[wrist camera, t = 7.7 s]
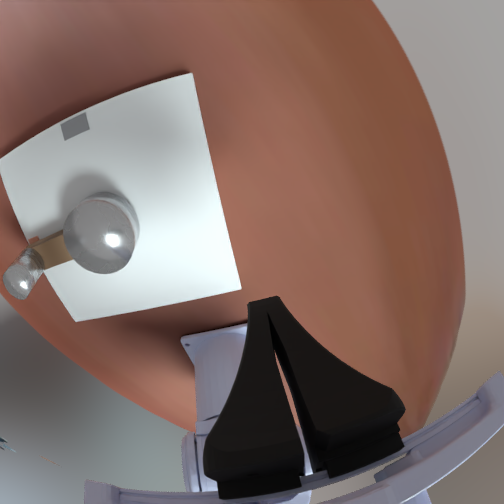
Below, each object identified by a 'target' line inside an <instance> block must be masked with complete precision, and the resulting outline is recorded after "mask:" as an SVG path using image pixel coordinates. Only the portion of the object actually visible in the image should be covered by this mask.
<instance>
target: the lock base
mask: <svg viewBox="0 0 504 504" xmlns="http://www.w3.org/2000/svg"><path fill="white" fill-rule="evenodd" d="M0 174H1V177H2V180H3V183H4V186H5V189H6V192H7V194H8V197H9V200H10V202H11V205H12V207H13V210H14V212H15V215H16V217H17V219H18V222H19V224H20V226H21V228H22V231H23V233H24V235H25V237H26V239H27V241H28V243H29V245H30V244H32V243H34V242H36V241H38V240H41V239H43V238H45V237H47V236H49V235H51V234H54V233H56V232H58V231H60V230H63V228H64V224H65V221H66V219H67V217H68V215H69V214H70V213H71V212H72V210H73V209H74V208H75V207H76V206H77V205H78V204H79V203H80V202H81V201H82V200H84V199H85V198H86V197H87V196H89V195H91V194H93V193H97V192H110V193H114V194H116V195H118V196H120V197H122V198H123V199H125V200H126V201H127V202H128V203H129V204H130V205H131V206H132V207H133V209H134V211H135V212H136V214H137V217H138V220H139V224H140V234H139V239H138V241H137V244H136V246H135V249H134V251H133V254H132V257H131V259H130V261H129V262H128V264H127V265H126V266H125V267H124V268H122V269H121V270H119V271H117V272H115V273H111V274H97V273H93V272H91V271H88V270H86V269H84V268H83V267H81V266H80V265H79V264H78V263H76V262H75V260H74V259H73V260H71V261H68V262H65V263H62V264H60V265H57V266H54V267H52V268H49V269H46V270H44V273H45V275H46V277H47V279H48V280H49V282H50V284H51V285H52V287H53V289H54V290H55V292H56V293H57V295H58V297H59V298H60V300H61V301H62V303H63V304H64V306H65V307H66V309H67V310H68V312H69V313H70V315H71V316H72V318H73V319H74V320H75V322H78V321H84V320H90V319H96V318H101V317H107V316H113V315H118V314H124V313H129V312H134V311H140V310H145V309H150V308H155V307H160V306H165V305H170V304H175V303H180V302H185V301H189V300H194V299H199V298H203V297H208V296H213V295H217V294H222V293H226V292H231V291H235V290H240V289H241V284H240V279H239V275H238V271H237V267H236V263H235V259H234V255H233V251H232V246H231V242H230V238H229V234H228V230H227V226H226V221H225V217H224V213H223V209H222V205H221V200H220V196H219V192H218V187H217V183H216V179H215V174H214V170H213V165H212V161H211V157H210V152H209V148H208V143H207V138H206V134H205V129H204V125H203V120H202V116H201V111H200V106H199V101H198V97H197V92H196V87H195V82H194V77H193V74H192V73H189V74H185V75H181V76H177V77H173V78H169V79H166V80H162V81H159V82H156V83H152V84H149V85H146V86H143V87H140V88H137V89H134V90H132V91H129V92H126V93H123V94H121V95H118V96H115V97H113V98H110V99H108V100H105V101H103V102H101V103H98V104H96V105H94V106H92V107H89V108H87V109H85V110H83V111H81V112H79V113H76V114H74V115H72V116H70V117H68V118H66V119H64V120H63V121H61V122H59V123H57V124H55V125H53V126H51V127H50V128H48V129H46V130H44V131H43V132H41V133H39V134H37V135H36V136H34V137H32V138H31V139H29V140H28V141H26V142H24V143H23V144H21V145H20V146H18V147H17V148H15V149H14V150H12V151H11V152H9V153H8V154H7V155H5V156H4V157H2V158H1V159H0Z"/></svg>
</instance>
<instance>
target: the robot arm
mask: <svg viewBox="0 0 504 504" xmlns="http://www.w3.org/2000/svg"><path fill="white" fill-rule="evenodd" d="M247 307H248V323H246V324H241V325H237V326H232V327H228V328H223V329H218V330H213V331H208V332H203V333H198V334H193V335H187V336H183V337H181V343H182V345H183V347H184V349H185V351H186V352H187V354H188V356H189V358H190V359H191V361H192V363H193V364H194V366H195V389H196V408H197V421H196V435H195V432H188V433H187V435H186V436H185V437H184V438H183V439H182V446H181V448H182V449H181V450H182V468H183V475H184V482H185V487H186V491H187V492H157V491H142V490H132V489H123V488H118V487H116V486H114V485H111V484H107V483H102V482H96V481H91V480H85V492H84V504H309V502H310V496H311V490H313V489H317V488H321V487H324V486H327V485H330V484H333V483H336V482H339V481H342V480H345V479H348V478H351V477H353V476H356V475H359V474H361V473H364V472H366V471H369V470H371V469H373V468H376V467H378V466H380V465H383V464H385V463H387V462H389V461H391V460H393V459H395V458H397V457H399V456H401V455H403V454H405V453H407V454H406V456H405V457H403V458H401V459H400V460H398V461H396V462H394V463H392V464H390V465H388V466H386V467H385V468H384V469H383V470H381V471H379V472H378V473H376V474H375V475H374V478H375V480H376V483H375V484H372V485H370V486H367V487H365V488H362V489H360V490H357V491H354V492H352V493H349V494H346V495H343V496H340V497H337V498H334V499H331V500H328V501H324V502H321V503H317V504H432V503H431V501H430V498H429V496H428V493H427V491H426V489H427V488H429V487H430V486H432V485H433V484H435V483H436V482H438V481H439V480H441V479H442V478H443V477H445V476H446V475H448V474H449V473H450V472H451V471H453V470H454V469H456V468H457V467H458V466H459V465H461V464H462V463H463V462H464V461H466V460H467V459H468V458H469V457H470V456H472V455H473V454H474V453H475V452H476V451H477V450H479V449H480V448H481V447H482V446H483V445H484V444H485V443H486V442H487V441H488V440H489V439H490V438H491V437H492V436H493V435H494V434H496V433H497V432H498V431H499V429H501V428H502V426H504V377H503V375H502V374H501V372H500V371H498V372H497V373H495V374H494V375H493V376H492V377H491V378H490V379H489V380H487V381H486V382H485V383H484V384H483V385H482V386H481V387H480V388H479V389H478V390H477V391H476V393H475V394H474V395H472V396H471V397H470V398H468V399H467V400H465V401H464V402H463V403H461V404H460V405H458V406H457V407H456V408H454V409H453V410H451V411H450V412H448V413H446V414H445V415H443V416H442V417H440V418H439V419H437V420H435V421H434V422H432V423H430V424H429V425H427V426H425V427H424V428H422V429H420V430H418V431H416V432H415V433H413V434H411V435H409V436H407V437H405V438H403V439H401V437H400V435H399V433H398V432H399V431H400V428H399V426H398V424H397V422H398V421H399V420H400V418H401V417H402V416H403V414H404V412H405V410H406V409H405V406H404V404H403V402H402V401H401V399H400V398H399V396H398V395H397V394H396V393H395V391H394V390H393V389H392V388H390V387H387V386H385V385H383V384H381V383H379V382H377V381H375V380H373V379H371V378H369V377H367V376H365V375H363V374H361V373H360V372H358V371H357V370H355V369H353V368H352V367H350V366H349V365H347V364H346V363H344V362H343V361H341V360H340V359H338V358H337V357H336V356H334V355H333V354H332V353H330V352H329V351H328V350H327V349H325V348H324V347H323V346H322V345H321V344H320V343H319V342H317V341H316V340H315V339H314V338H313V337H312V336H311V335H310V334H309V333H308V332H307V331H306V330H305V329H304V328H303V327H302V326H301V325H300V323H299V322H298V321H297V320H296V319H295V318H294V317H293V315H292V314H291V313H290V312H289V310H288V309H287V308H286V306H285V305H284V304H283V302H282V301H281V299H280V297H278V296H274V297H269V298H265V299H261V300H257V301H253V302H249V303H248V304H247ZM186 343H188V344H186ZM274 350H275V351H274ZM275 353H276V355H277V358H278V360H279V363H280V366H281V368H282V371H283V373H284V376H285V378H286V381H287V383H288V386H289V389H290V392H291V394H292V398H293V401H294V405H295V408H296V412H297V416H298V419H299V423H300V427H301V428H300V427H299V426H298V425H296V424H295V421H294V418H293V415H292V412H291V409H290V405H289V402H288V399H287V396H286V393H285V389H284V386H283V383H282V379H281V376H280V373H279V369H278V366H277V363H276V357H275Z"/></svg>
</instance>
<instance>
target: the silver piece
mask: <svg viewBox="0 0 504 504" xmlns="http://www.w3.org/2000/svg"><path fill="white" fill-rule="evenodd" d="M139 234H140V224H139V220H138V217H137V214H136V212H135V211H134V209H133V207H132V206H131V205H130V204H129V203H128V202H127V201H126V200H125V199H123V198H122V197H120V196H118V195H116V194H114V193H110V192H97V193H93V194H91V195H89V196H87V197H86V198H85V199H84V200H82V201H81V202H80V203H79V204H78V205H77V206H76V207H75V208H74V209H73V210H72V212H71V213H70V214H69V215H68V217H67V219H66V221H65V224H64V228H63V230H60V231H58V232H56V233H54V234H51V235H49V236H47V237H45V238H43V239H41V240H38V241H36V242H34V243H32V244H30V245H28V246H27V247H26V248H25V249H24V250H23V251H22V252H21V253H20V255H19V256H18V257H17V258H16V259H15V261H14V262H13V263H12V264H11V265H10V267H9V268H8V269H7V270H6V272H5V273H4V275H3V282H4V285H5V287H6V289H7V290H8V292H9V293H10V294H11V295H12V296H14V297H15V298H17V299H21V300H23V299H26V298H27V296H28V295H29V293H30V291H31V290H32V288H33V287H34V285H35V284H36V282H37V281H38V279H39V278H40V276H41V275H42V273H43V272H44V270H46V269H49V268H52V267H54V266H57V265H60V264H62V263H65V262H68V261H71V260H73V259H74V260H75V262H76V263H78V264H79V265H80V266H81V267H83V268H84V269H86V270H88V271H91V272H93V273H97V274H111V273H115V272H117V271H119V270H121V269H122V268H124V267H125V266H126V265H127V264H128V262H129V261H130V259H131V257H132V254H133V251H134V249H135V246H136V244H137V241H138V239H139Z"/></svg>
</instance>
